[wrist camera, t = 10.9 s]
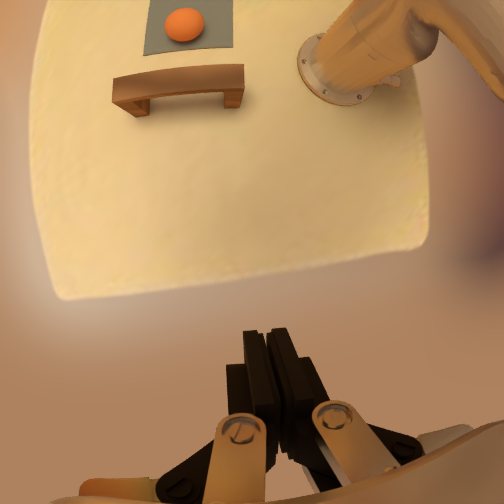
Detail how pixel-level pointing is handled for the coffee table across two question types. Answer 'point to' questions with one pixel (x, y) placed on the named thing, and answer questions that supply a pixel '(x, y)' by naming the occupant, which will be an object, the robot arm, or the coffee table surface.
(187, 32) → the ball
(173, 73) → the bridge
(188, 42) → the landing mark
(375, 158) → the coffee table surface
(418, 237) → the coffee table surface
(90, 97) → the coffee table surface
